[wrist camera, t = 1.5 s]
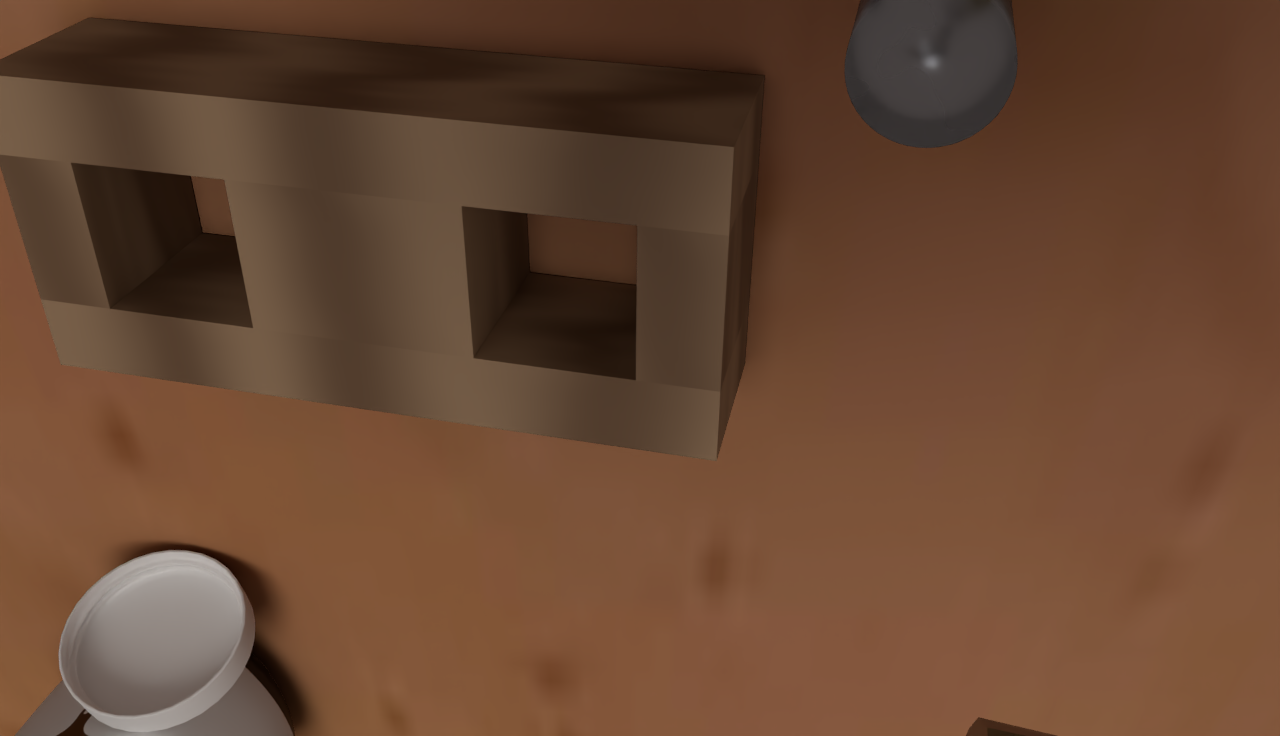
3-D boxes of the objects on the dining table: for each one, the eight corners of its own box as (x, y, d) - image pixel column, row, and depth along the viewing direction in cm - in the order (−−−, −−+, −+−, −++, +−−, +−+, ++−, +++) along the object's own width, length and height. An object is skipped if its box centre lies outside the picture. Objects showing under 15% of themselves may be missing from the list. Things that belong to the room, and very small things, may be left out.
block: (764, 75, 31) (734, 147, 27) (744, 363, 36) (716, 461, 32) (88, 17, 35) (-28, 73, 31) (154, 286, 40) (60, 364, 36)
